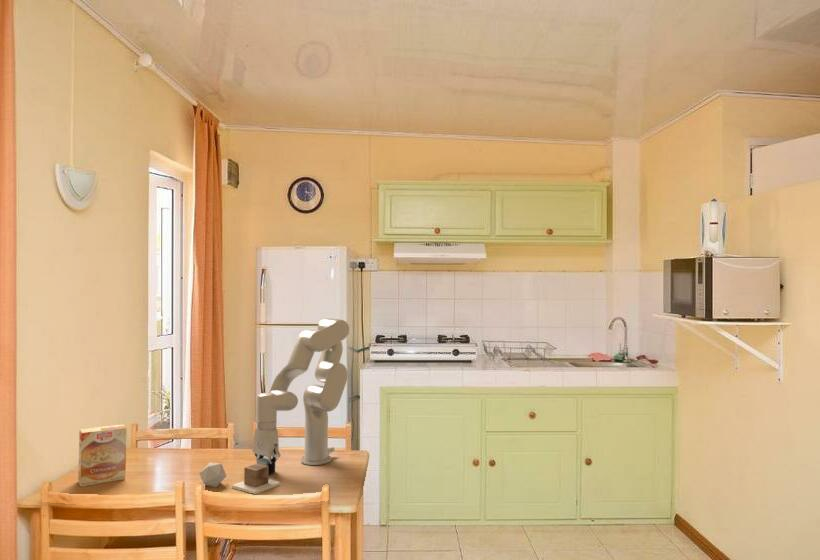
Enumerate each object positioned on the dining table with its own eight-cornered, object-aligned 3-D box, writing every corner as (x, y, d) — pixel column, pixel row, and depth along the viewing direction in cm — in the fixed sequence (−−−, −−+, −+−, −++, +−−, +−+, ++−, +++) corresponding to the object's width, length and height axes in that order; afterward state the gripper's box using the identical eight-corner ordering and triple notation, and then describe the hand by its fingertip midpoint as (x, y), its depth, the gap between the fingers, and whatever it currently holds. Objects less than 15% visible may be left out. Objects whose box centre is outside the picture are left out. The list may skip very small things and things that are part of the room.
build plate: (257, 478, 212) (257, 476, 212) (280, 484, 205) (280, 482, 205) (231, 487, 202) (231, 485, 202) (254, 494, 195) (254, 491, 195)
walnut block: (257, 479, 208) (257, 463, 208) (268, 482, 205) (268, 466, 205) (244, 484, 203) (244, 467, 203) (255, 487, 200) (255, 470, 200)
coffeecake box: (79, 487, 201) (81, 432, 202) (77, 481, 207) (78, 428, 208) (126, 479, 210) (127, 427, 211) (122, 474, 216) (123, 423, 216)
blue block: (266, 469, 223) (266, 457, 223) (275, 472, 220) (275, 459, 220) (256, 473, 219) (256, 460, 219) (265, 475, 216) (265, 462, 216)
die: (230, 484, 207) (223, 460, 212) (224, 480, 200) (217, 454, 204) (208, 494, 205) (201, 469, 210) (201, 489, 198) (195, 464, 202)
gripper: (244, 423, 221) (243, 470, 221) (274, 430, 212) (274, 478, 212) (259, 420, 228) (258, 465, 227) (289, 426, 218) (288, 473, 218)
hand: (266, 471), depth 219 cm, fingers closed on blue block, 5 cm apart
